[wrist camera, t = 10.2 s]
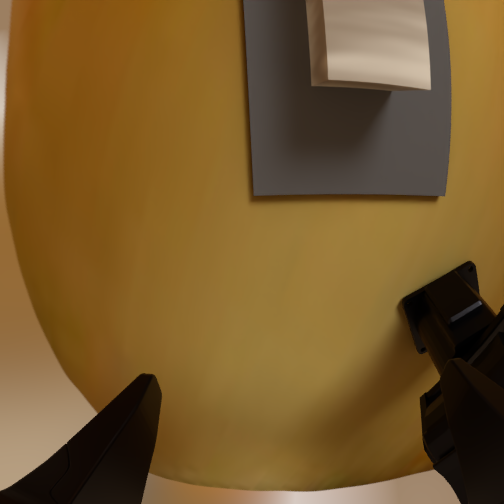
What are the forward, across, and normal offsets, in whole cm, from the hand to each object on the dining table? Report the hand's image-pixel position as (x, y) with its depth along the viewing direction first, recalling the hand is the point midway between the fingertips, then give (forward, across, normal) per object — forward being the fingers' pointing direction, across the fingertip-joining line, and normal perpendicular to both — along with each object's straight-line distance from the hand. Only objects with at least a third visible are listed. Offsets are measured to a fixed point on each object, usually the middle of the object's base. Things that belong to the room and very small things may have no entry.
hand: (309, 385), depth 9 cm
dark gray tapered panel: (+12, -4, -11) cm, 17 cm away
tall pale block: (+9, -4, -8) cm, 13 cm away
